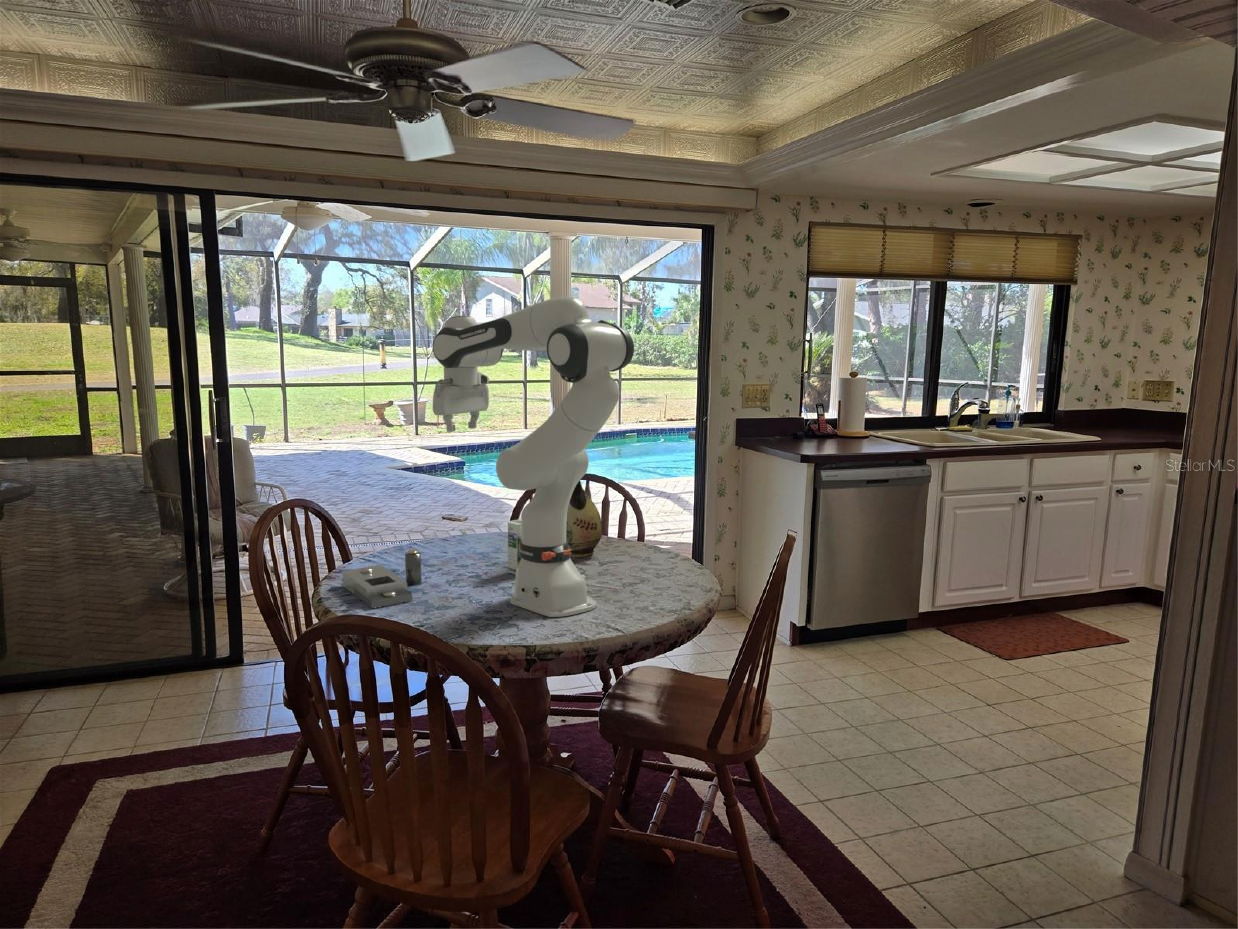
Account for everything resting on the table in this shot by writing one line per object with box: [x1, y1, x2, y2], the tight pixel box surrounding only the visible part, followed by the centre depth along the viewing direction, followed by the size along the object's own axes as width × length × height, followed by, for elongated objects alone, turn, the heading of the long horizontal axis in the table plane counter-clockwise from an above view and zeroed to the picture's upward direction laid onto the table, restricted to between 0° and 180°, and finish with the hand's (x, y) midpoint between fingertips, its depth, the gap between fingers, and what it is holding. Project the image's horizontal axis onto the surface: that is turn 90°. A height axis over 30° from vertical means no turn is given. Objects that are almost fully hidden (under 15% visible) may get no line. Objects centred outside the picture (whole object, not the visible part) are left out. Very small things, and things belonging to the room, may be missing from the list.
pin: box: [404, 549, 422, 586], centre depth 203 cm, size 4×4×9 cm
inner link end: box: [353, 588, 413, 609], centre depth 191 cm, size 13×10×3 cm
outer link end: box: [341, 564, 408, 598], centre depth 196 cm, size 19×10×5 cm, turn 37°
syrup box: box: [507, 519, 522, 576], centre depth 213 cm, size 6×6×14 cm
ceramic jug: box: [566, 479, 603, 558], centre depth 231 cm, size 17×15×30 cm
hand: (461, 429), depth 207 cm, fingers open, 8 cm apart
